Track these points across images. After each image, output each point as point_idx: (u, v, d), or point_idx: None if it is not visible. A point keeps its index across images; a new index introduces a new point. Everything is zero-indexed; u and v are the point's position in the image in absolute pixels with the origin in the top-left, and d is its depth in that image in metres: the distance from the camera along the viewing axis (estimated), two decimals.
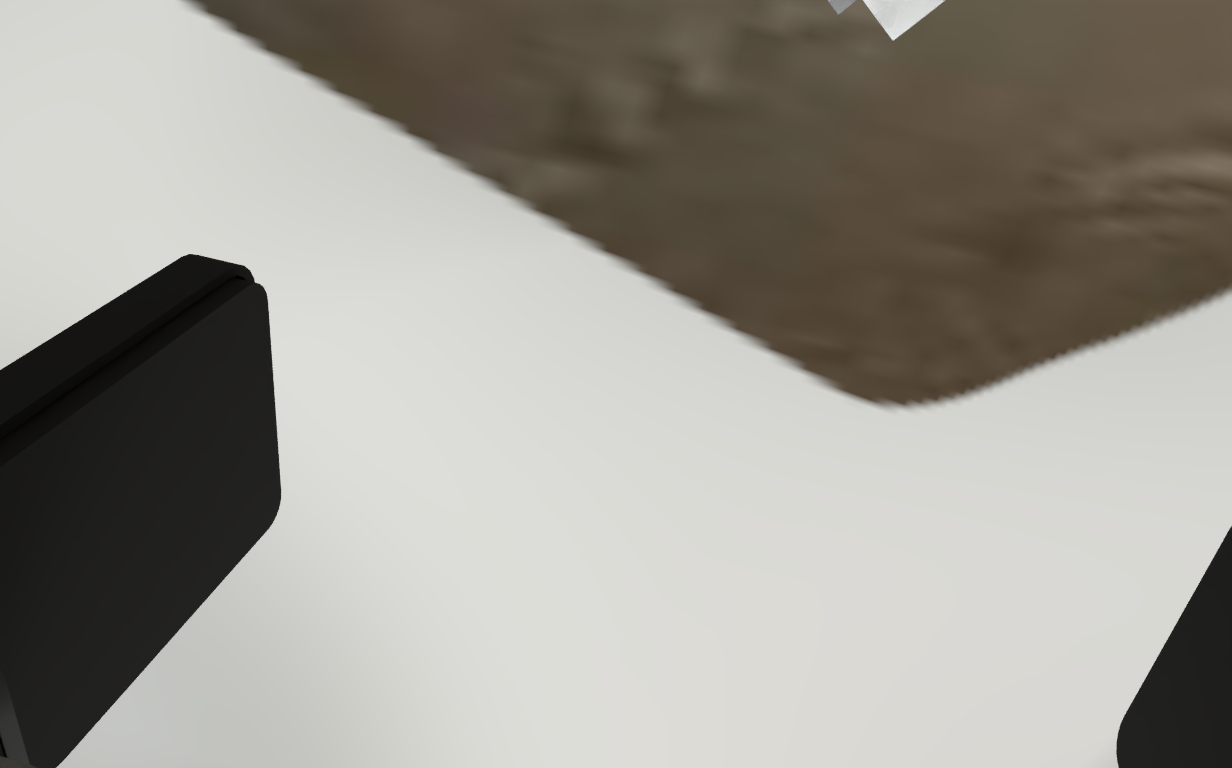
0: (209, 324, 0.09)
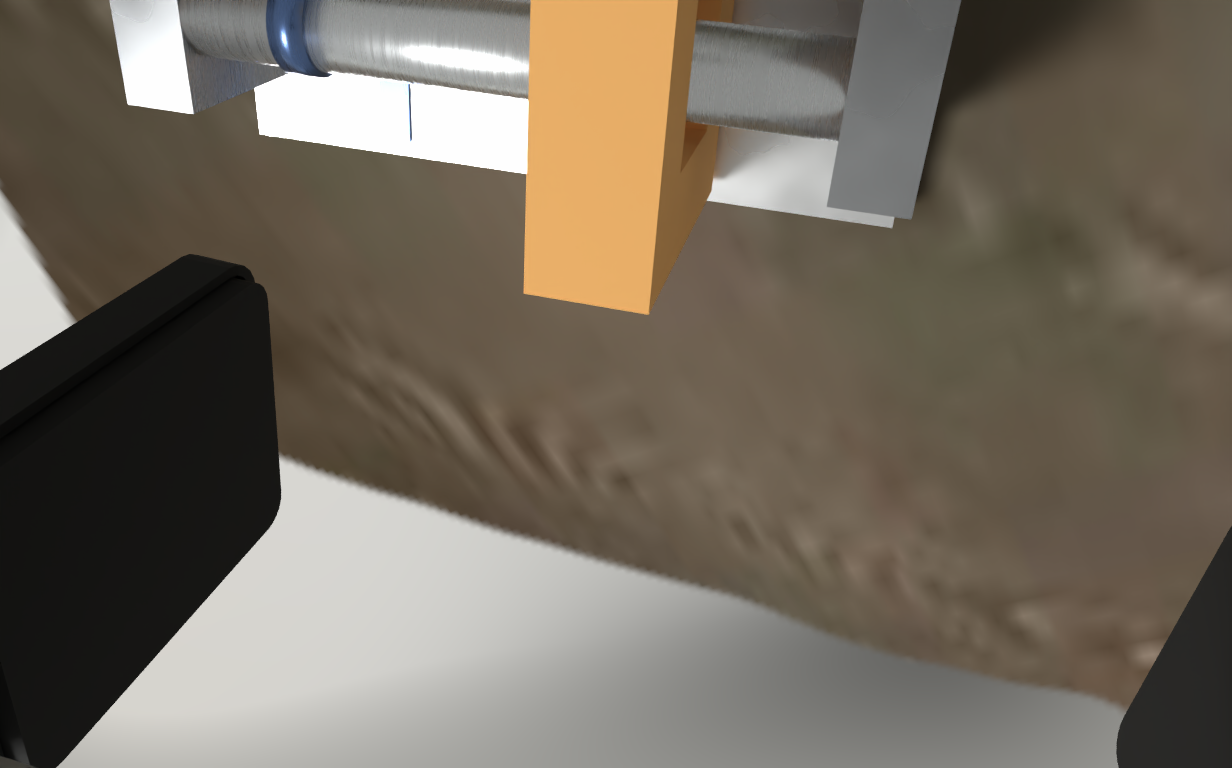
0: (209, 324, 0.09)
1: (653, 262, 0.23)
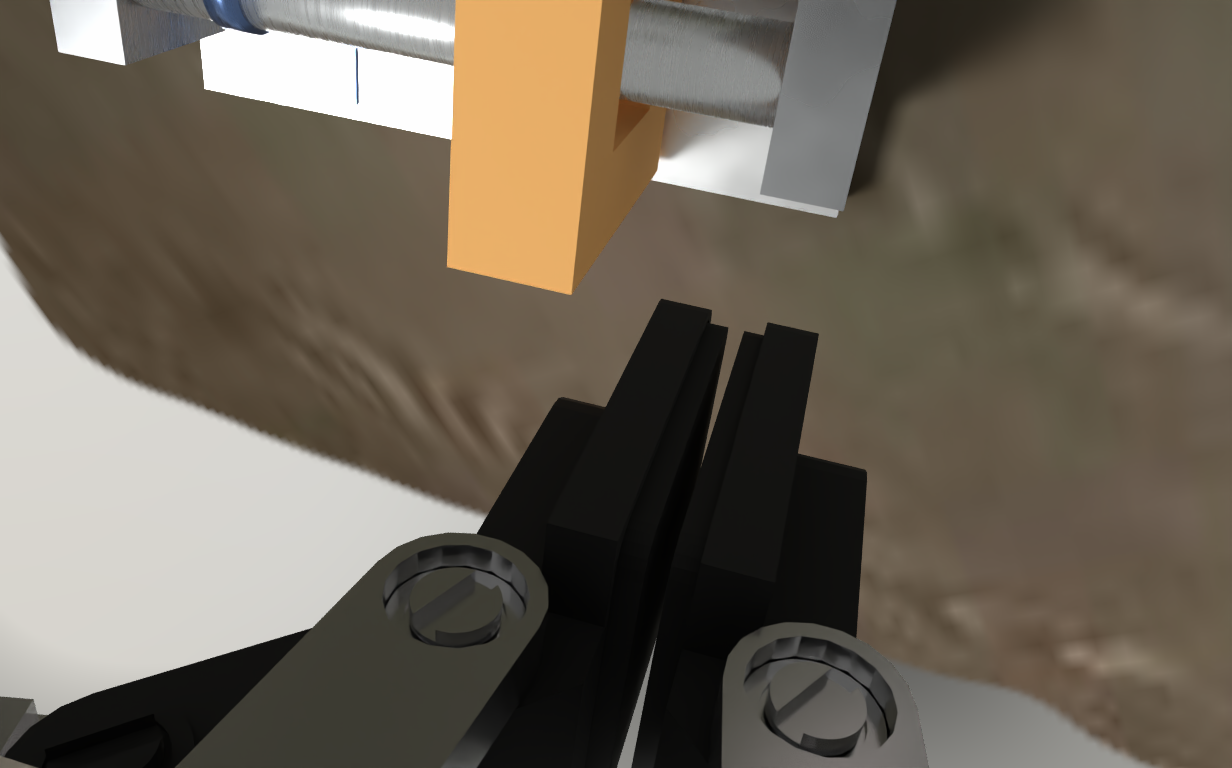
0: (712, 369, 0.09)
1: (577, 242, 0.22)
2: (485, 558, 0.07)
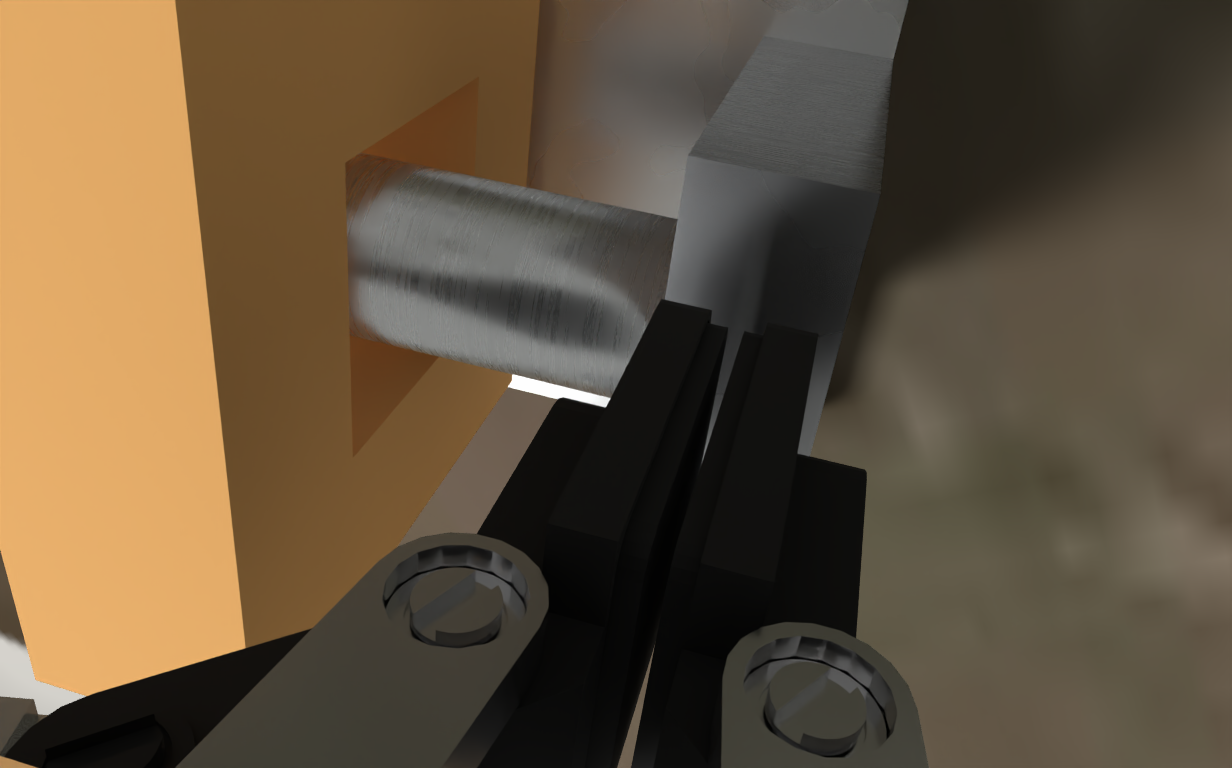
0: (713, 369, 0.09)
1: None
2: (485, 558, 0.07)
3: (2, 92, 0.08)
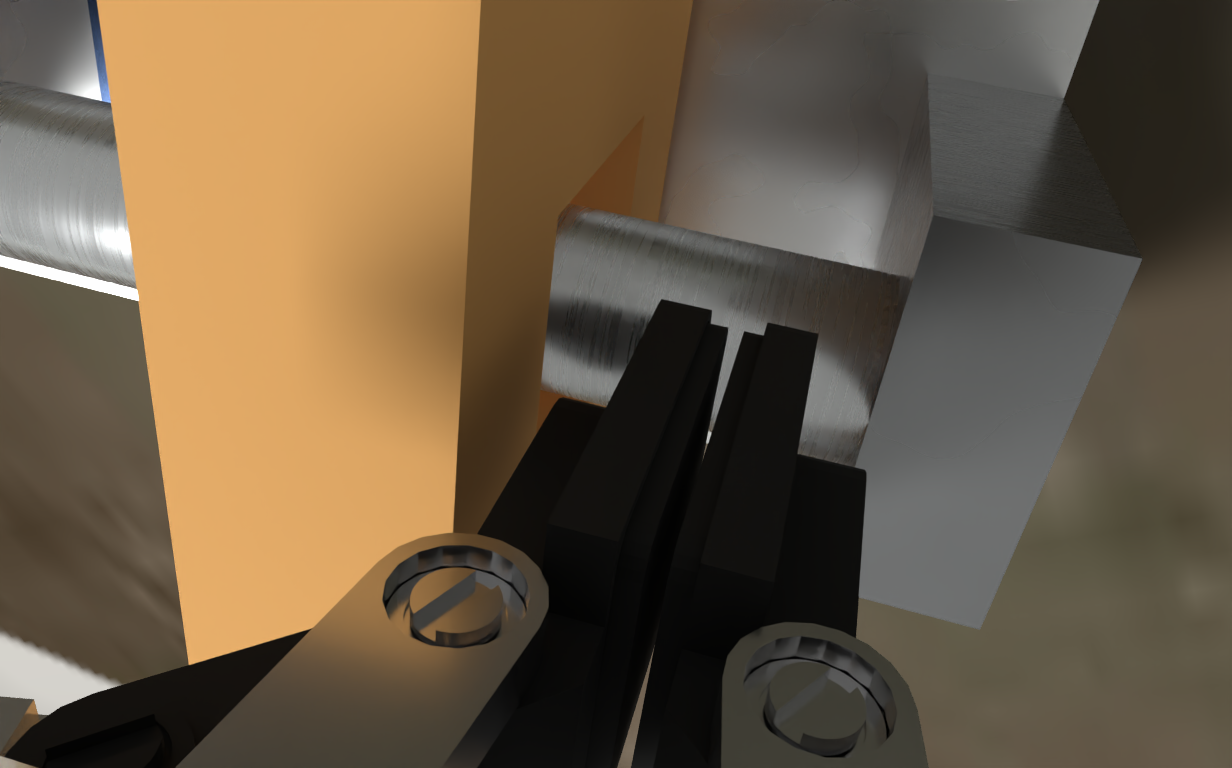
0: (713, 369, 0.09)
1: None
2: (485, 558, 0.07)
3: (262, 155, 0.08)
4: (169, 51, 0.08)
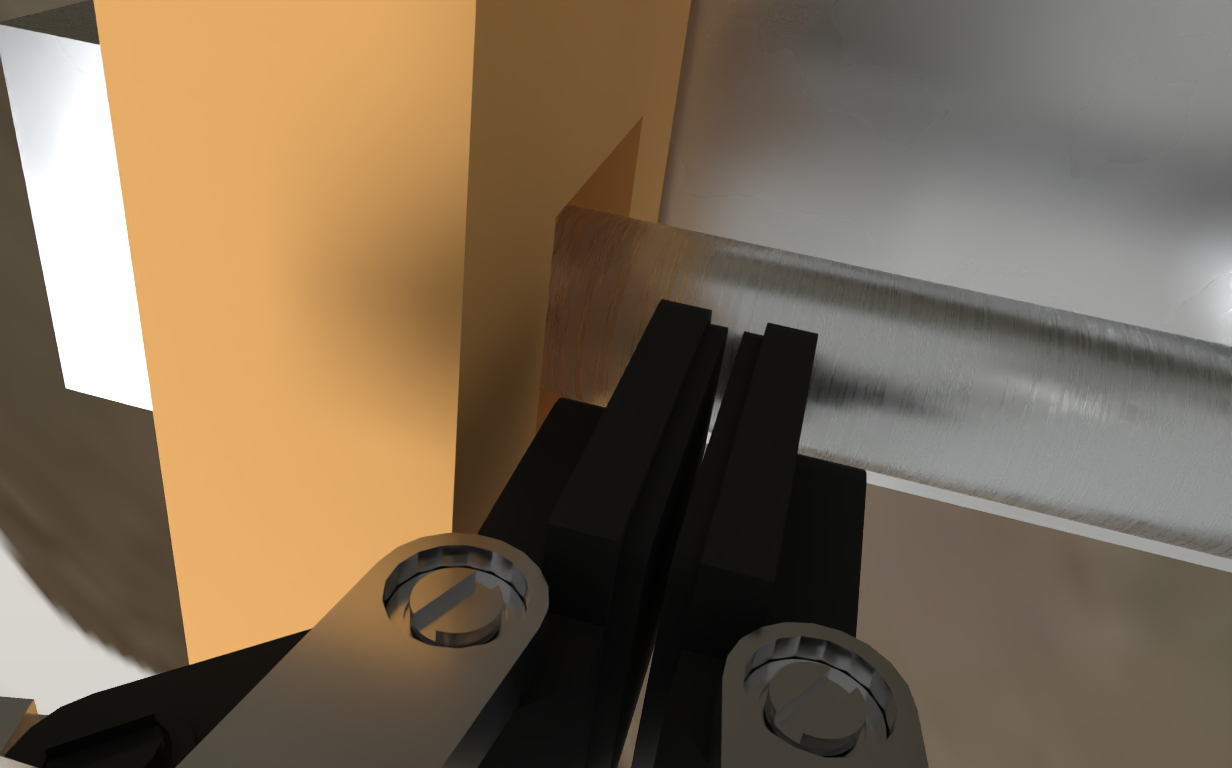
0: (713, 370, 0.09)
1: None
2: (486, 558, 0.07)
3: (259, 157, 0.08)
4: (166, 53, 0.08)
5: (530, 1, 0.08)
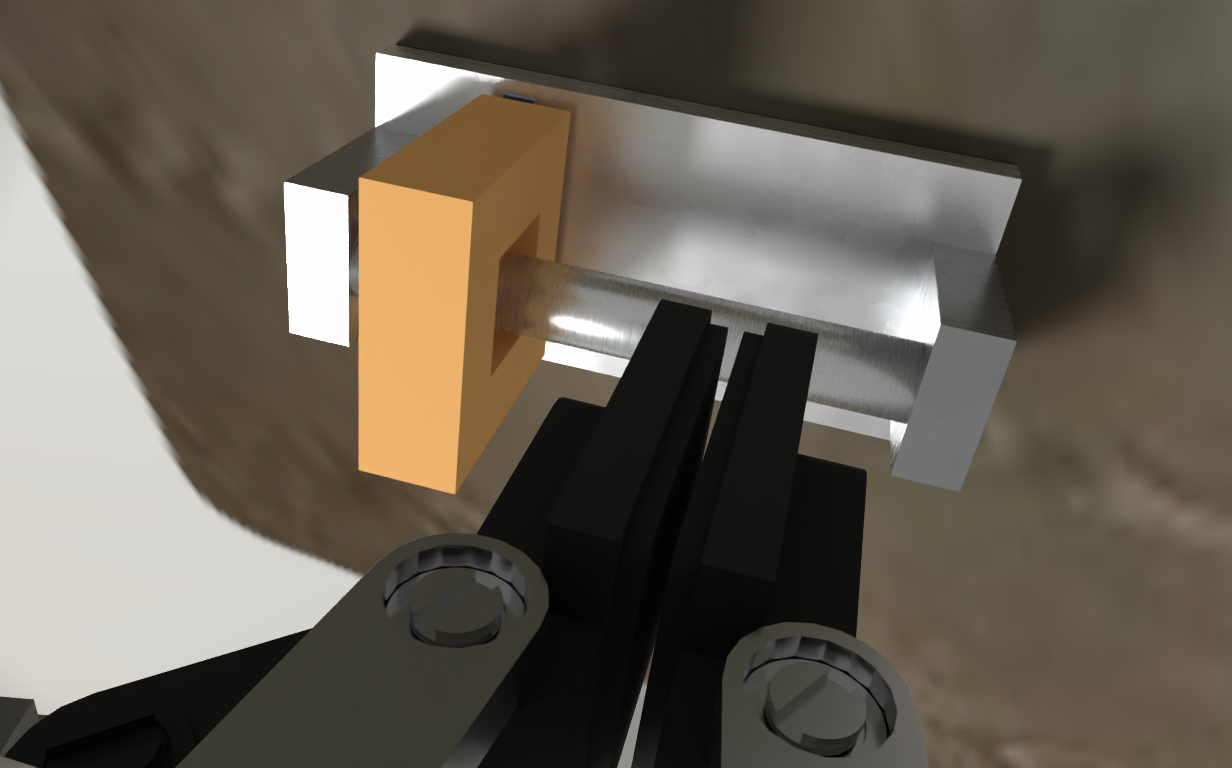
0: (713, 369, 0.09)
1: (457, 457, 0.29)
2: (485, 558, 0.07)
3: (406, 243, 0.26)
4: (379, 213, 0.25)
5: (488, 195, 0.26)
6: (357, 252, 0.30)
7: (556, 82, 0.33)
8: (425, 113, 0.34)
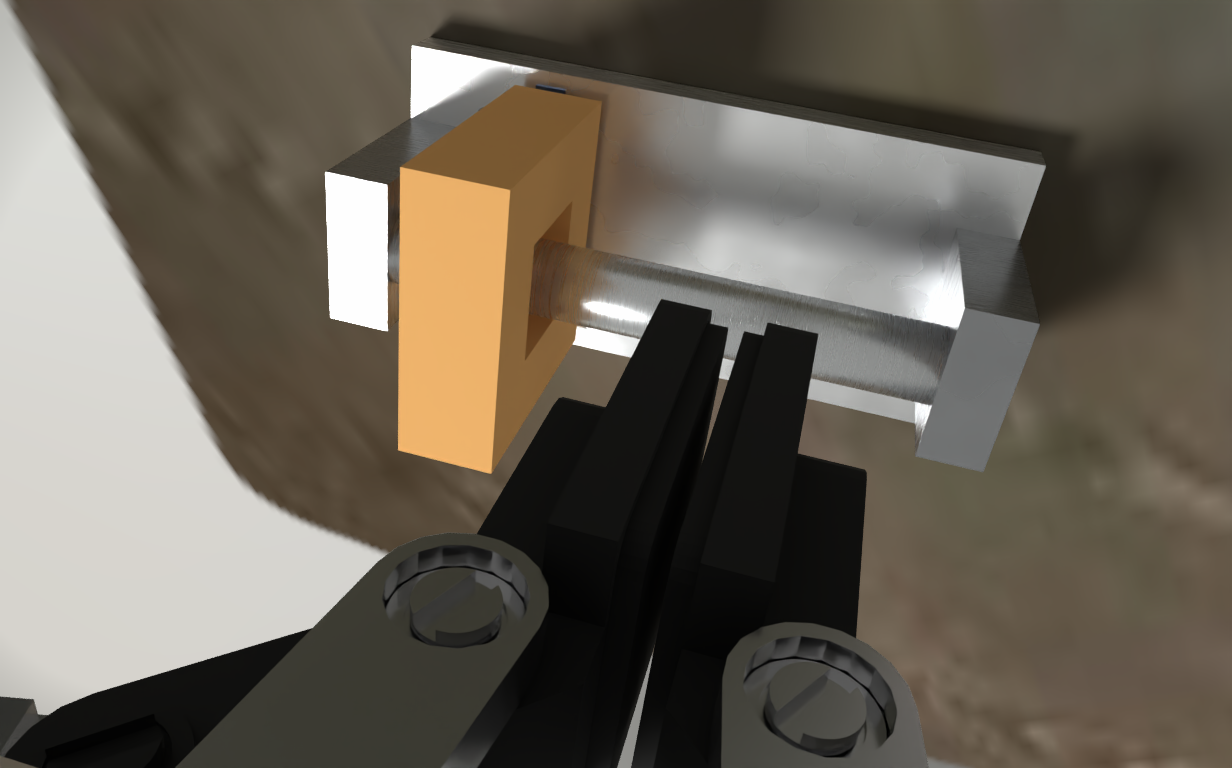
0: (712, 369, 0.09)
1: (493, 438, 0.30)
2: (485, 558, 0.07)
3: (445, 230, 0.27)
4: (420, 201, 0.26)
5: (524, 184, 0.27)
6: (396, 239, 0.31)
7: (587, 73, 0.34)
8: (459, 104, 0.35)
